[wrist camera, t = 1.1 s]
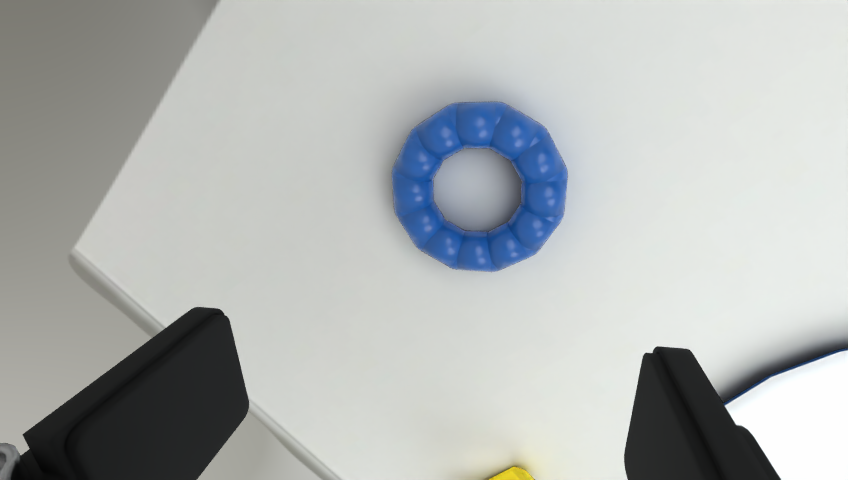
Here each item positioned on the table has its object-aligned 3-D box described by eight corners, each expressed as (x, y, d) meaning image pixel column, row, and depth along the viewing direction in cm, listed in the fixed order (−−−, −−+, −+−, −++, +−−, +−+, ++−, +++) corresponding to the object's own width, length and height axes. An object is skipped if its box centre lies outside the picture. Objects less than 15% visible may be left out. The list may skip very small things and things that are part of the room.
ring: (373, 211, 25) (361, 224, 23) (446, 66, 21) (439, 67, 19) (504, 286, 25) (503, 306, 23) (600, 157, 21) (609, 166, 19)
